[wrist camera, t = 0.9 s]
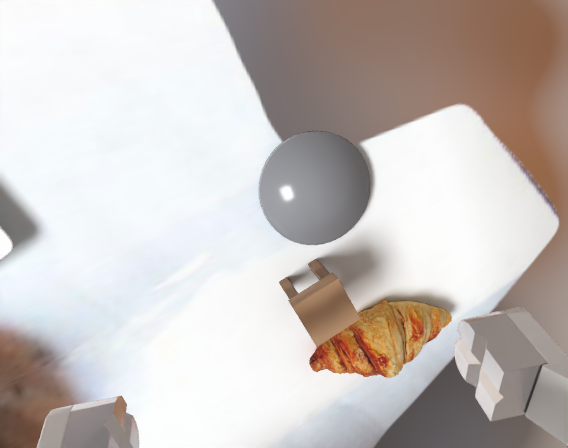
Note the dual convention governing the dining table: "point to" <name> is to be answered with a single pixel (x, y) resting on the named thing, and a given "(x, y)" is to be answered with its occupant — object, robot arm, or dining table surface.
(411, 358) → the croissant
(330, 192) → the grey flat disc
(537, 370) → the robot arm
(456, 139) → the dining table surface
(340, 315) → the stool
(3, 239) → the salad plate
